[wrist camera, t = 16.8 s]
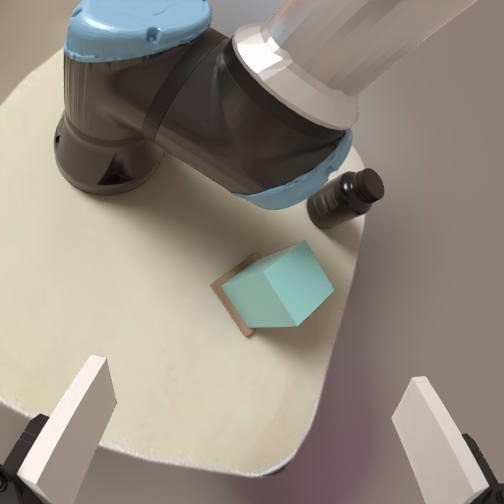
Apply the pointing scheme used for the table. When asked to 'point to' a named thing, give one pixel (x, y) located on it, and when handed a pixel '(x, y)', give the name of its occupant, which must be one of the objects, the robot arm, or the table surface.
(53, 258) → the table surface
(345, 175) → the supplement bottle
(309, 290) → the tall teal pillar
